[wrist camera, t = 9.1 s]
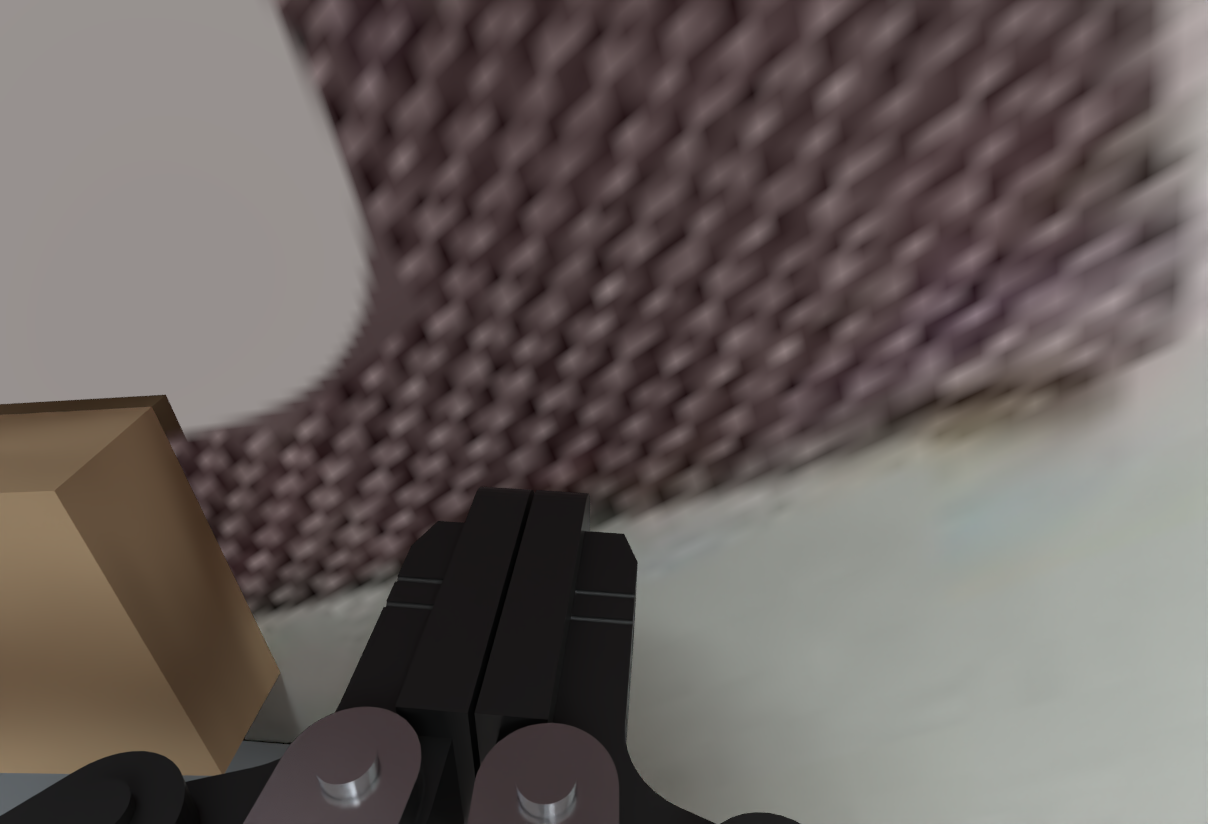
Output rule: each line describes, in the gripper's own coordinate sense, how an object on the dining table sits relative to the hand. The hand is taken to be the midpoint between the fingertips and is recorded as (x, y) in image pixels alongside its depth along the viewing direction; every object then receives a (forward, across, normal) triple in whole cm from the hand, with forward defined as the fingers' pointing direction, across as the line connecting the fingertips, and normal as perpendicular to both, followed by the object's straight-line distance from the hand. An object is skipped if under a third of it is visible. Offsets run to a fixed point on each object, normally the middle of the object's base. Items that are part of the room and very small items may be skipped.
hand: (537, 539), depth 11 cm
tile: (+2, +9, +2) cm, 9 cm away
